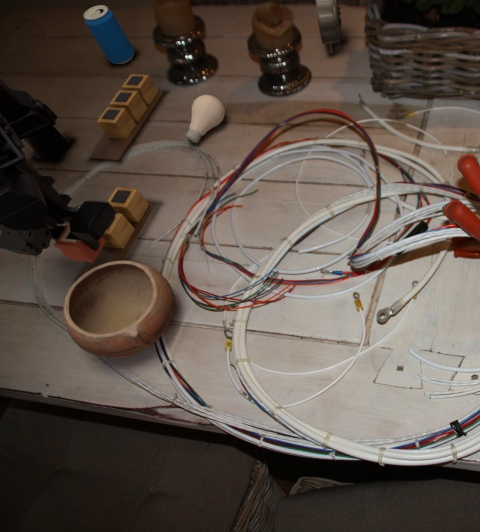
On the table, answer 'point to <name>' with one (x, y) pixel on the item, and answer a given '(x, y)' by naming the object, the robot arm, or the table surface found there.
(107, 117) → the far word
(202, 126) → the light bulb
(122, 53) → the beverage can
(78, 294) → the bowl
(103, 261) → the wooden block tray
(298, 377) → the table surface
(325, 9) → the alarm clock
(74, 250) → the letter S
